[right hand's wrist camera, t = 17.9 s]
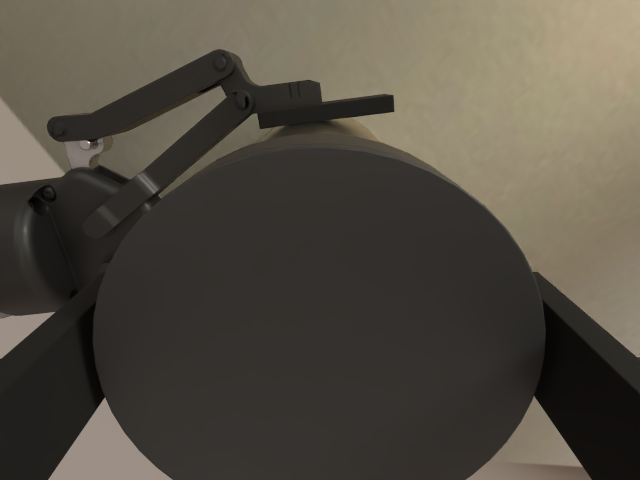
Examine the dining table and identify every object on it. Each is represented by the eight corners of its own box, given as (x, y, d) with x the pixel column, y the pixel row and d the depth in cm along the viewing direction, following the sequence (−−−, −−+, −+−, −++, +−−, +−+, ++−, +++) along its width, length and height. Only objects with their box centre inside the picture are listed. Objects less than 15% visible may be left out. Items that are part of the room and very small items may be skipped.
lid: (166, 74, 10) (122, 72, 8) (574, 203, 11) (638, 232, 9) (113, 416, 14) (73, 480, 12) (420, 484, 15) (438, 555, 13)
